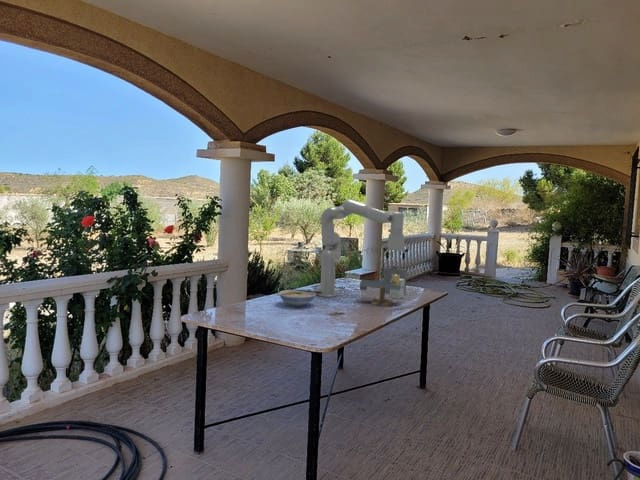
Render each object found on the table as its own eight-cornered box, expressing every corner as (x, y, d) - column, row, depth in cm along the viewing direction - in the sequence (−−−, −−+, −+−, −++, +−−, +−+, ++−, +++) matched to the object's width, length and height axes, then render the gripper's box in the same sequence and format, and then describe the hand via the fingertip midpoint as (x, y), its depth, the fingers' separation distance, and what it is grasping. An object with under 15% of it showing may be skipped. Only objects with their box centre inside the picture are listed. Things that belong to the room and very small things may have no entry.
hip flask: (405, 293, 326) (407, 265, 324) (404, 294, 322) (406, 266, 321) (383, 291, 332) (384, 264, 330) (382, 292, 328) (383, 264, 326)
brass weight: (390, 285, 289) (391, 274, 288) (391, 284, 294) (391, 273, 293) (398, 286, 288) (399, 275, 287) (399, 285, 293) (399, 274, 292)
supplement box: (399, 299, 307) (399, 280, 306) (389, 297, 311) (389, 278, 310) (404, 297, 312) (405, 279, 311) (394, 296, 317) (395, 277, 316)
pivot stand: (371, 305, 285) (372, 287, 284) (373, 299, 303) (373, 282, 302) (391, 306, 283) (392, 288, 282) (391, 300, 300) (392, 283, 300)
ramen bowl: (269, 305, 275) (269, 292, 275) (289, 299, 295) (289, 286, 295) (305, 311, 264) (306, 297, 263) (324, 304, 284) (324, 291, 283)
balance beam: (359, 290, 289) (360, 281, 289) (360, 287, 299) (361, 279, 299) (399, 294, 285) (400, 285, 285) (399, 291, 295) (400, 283, 295)
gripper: (382, 231, 286) (381, 258, 288) (410, 232, 283) (409, 260, 285) (382, 230, 294) (381, 257, 295) (410, 232, 291) (409, 259, 292)
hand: (395, 258), depth 290 cm, fingers open, 9 cm apart
